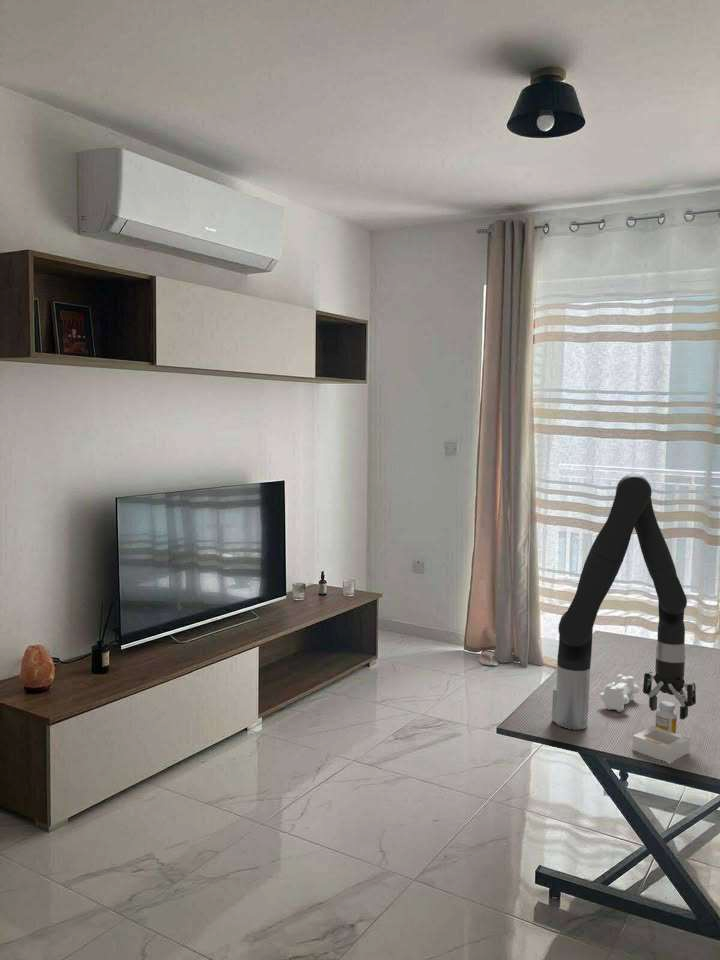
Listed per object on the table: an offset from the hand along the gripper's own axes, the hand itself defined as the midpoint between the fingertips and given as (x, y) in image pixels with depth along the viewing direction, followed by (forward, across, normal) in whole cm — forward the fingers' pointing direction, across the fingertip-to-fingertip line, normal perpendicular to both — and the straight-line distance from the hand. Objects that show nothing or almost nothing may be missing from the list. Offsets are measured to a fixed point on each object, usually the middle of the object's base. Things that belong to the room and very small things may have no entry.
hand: (668, 714), depth 222 cm
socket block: (+7, +4, -10) cm, 13 cm away
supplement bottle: (+7, 0, 0) cm, 7 cm away
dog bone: (+7, -22, +13) cm, 27 cm away
